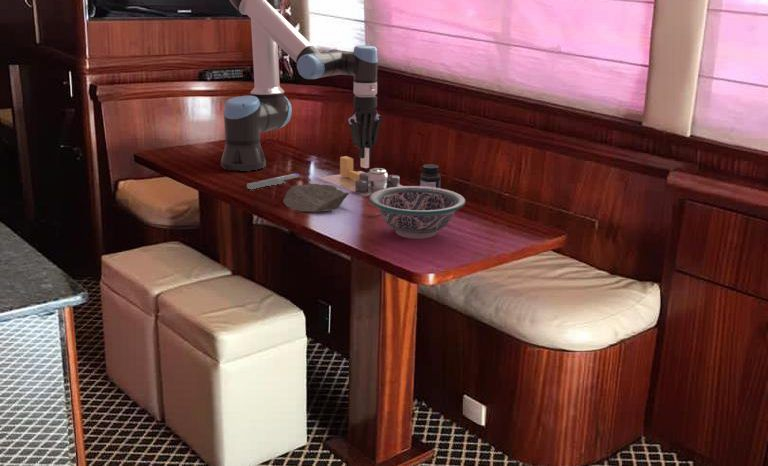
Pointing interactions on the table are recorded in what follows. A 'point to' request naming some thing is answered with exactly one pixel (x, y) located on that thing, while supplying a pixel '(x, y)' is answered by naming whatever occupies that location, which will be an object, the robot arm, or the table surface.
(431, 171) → the pill bottle
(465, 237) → the table surface
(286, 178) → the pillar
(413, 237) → the bowl
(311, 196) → the stone
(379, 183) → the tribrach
